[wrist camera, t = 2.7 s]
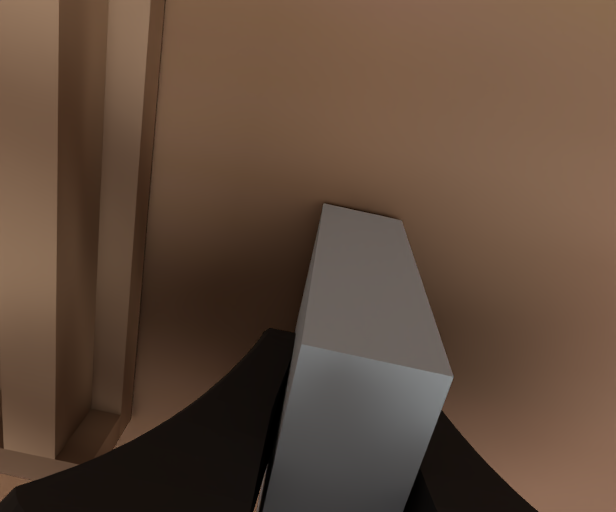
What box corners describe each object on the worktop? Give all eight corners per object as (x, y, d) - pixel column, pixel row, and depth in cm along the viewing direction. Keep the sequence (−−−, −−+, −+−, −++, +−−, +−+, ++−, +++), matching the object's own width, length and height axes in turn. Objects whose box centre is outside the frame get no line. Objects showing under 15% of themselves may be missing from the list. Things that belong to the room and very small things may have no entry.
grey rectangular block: (333, 455, 14) (324, 717, 8) (270, 441, 14) (219, 696, 8) (401, 220, 11) (453, 376, 6) (323, 203, 11) (301, 343, 6)
